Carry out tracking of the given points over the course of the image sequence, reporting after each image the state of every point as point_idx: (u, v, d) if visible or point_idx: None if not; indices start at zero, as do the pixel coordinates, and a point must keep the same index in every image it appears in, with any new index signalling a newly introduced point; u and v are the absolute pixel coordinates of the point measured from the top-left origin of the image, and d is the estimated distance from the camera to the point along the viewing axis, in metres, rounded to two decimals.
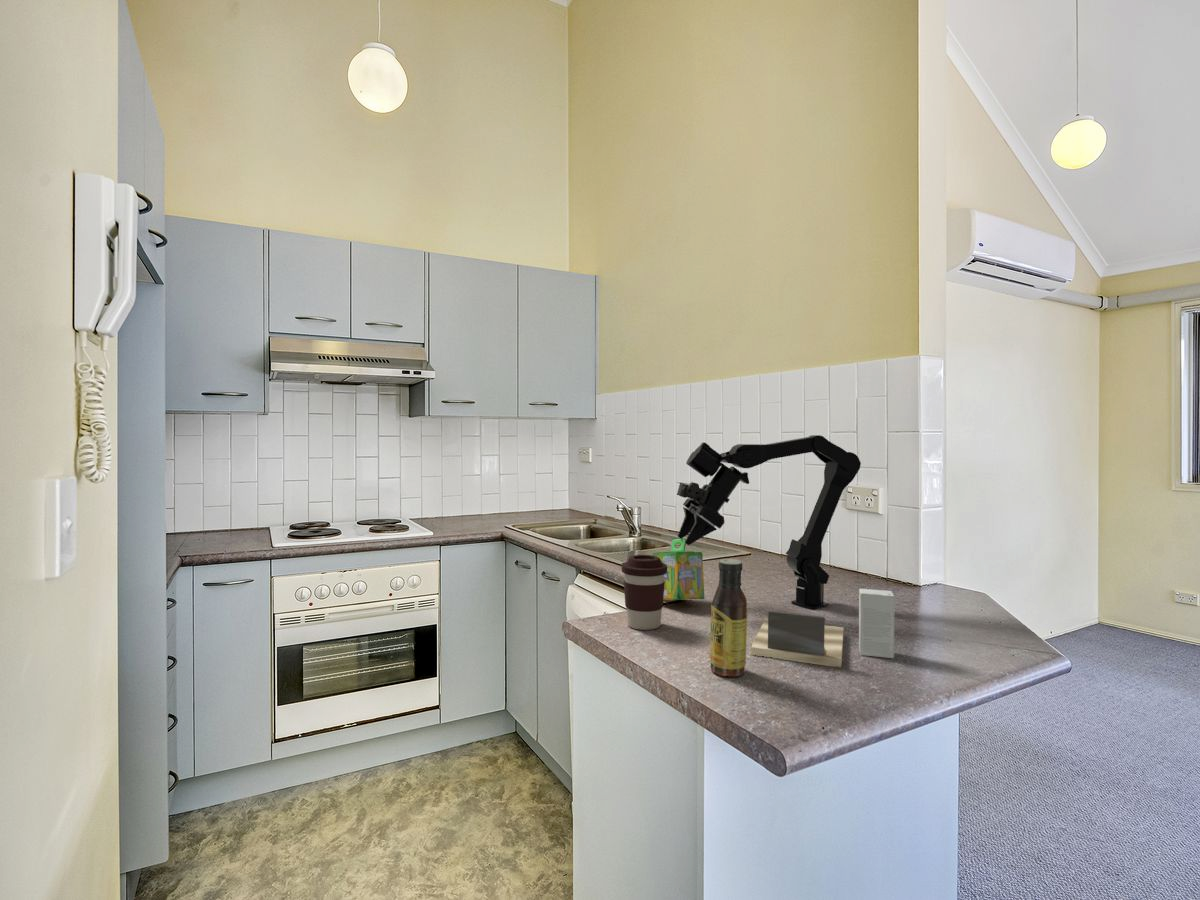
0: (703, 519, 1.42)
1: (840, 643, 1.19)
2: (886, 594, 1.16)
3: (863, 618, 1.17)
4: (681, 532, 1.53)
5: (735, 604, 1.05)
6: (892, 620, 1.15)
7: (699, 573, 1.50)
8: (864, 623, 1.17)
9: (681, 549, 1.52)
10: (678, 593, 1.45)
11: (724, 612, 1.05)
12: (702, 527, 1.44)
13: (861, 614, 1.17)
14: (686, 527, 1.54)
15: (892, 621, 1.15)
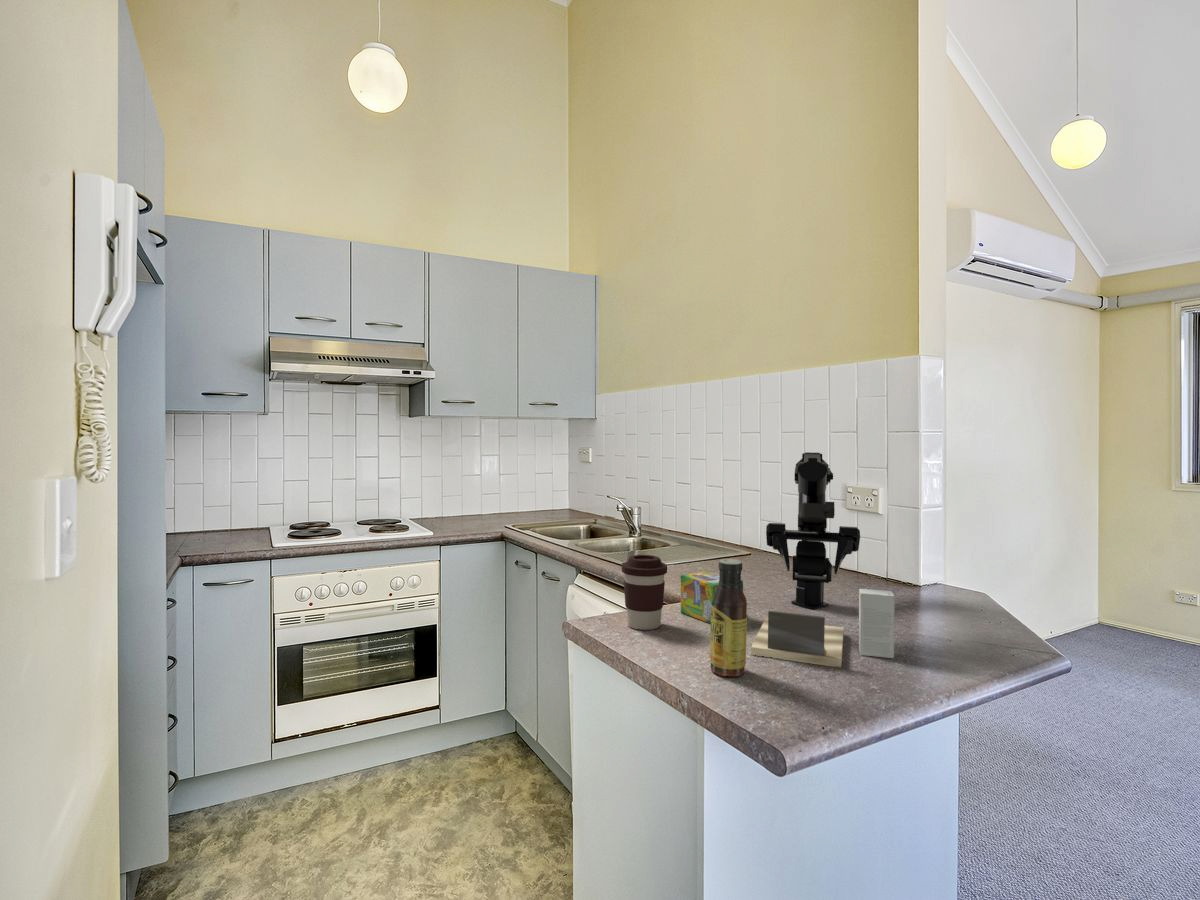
0: (852, 542, 1.27)
1: (840, 643, 1.19)
2: (886, 594, 1.16)
3: (863, 618, 1.17)
4: (789, 563, 1.28)
5: (735, 604, 1.05)
6: (892, 620, 1.15)
7: None
8: (864, 623, 1.17)
9: None
10: (684, 613, 1.43)
11: (724, 612, 1.05)
12: None
13: (861, 614, 1.17)
14: None
15: (892, 621, 1.15)
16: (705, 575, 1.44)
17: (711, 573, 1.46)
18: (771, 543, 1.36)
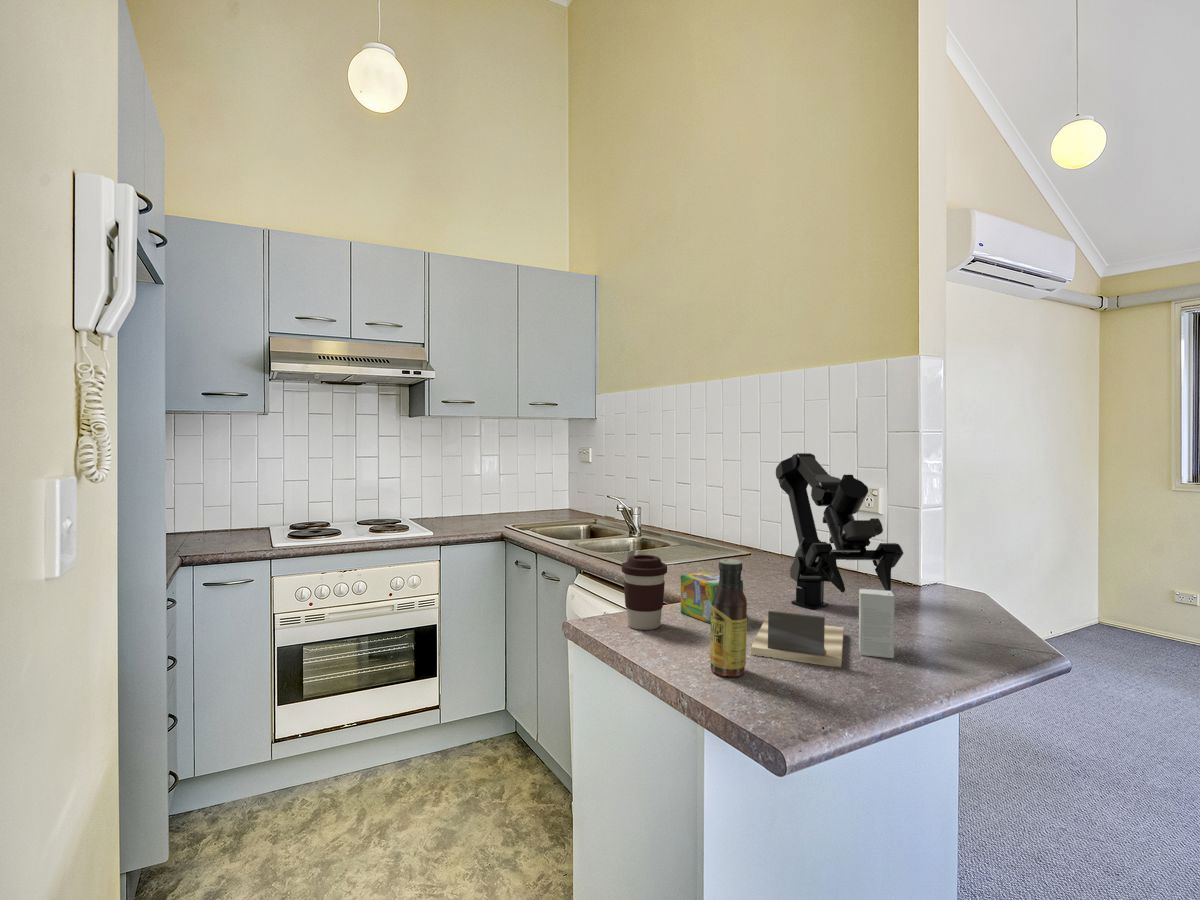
0: None
1: (840, 643, 1.19)
2: (886, 594, 1.16)
3: (863, 618, 1.17)
4: None
5: (735, 604, 1.05)
6: (892, 620, 1.15)
7: None
8: (864, 623, 1.17)
9: None
10: (684, 613, 1.43)
11: (724, 612, 1.05)
12: None
13: (861, 614, 1.17)
14: None
15: (892, 621, 1.15)
16: (705, 575, 1.44)
17: (711, 573, 1.46)
18: (811, 565, 1.29)
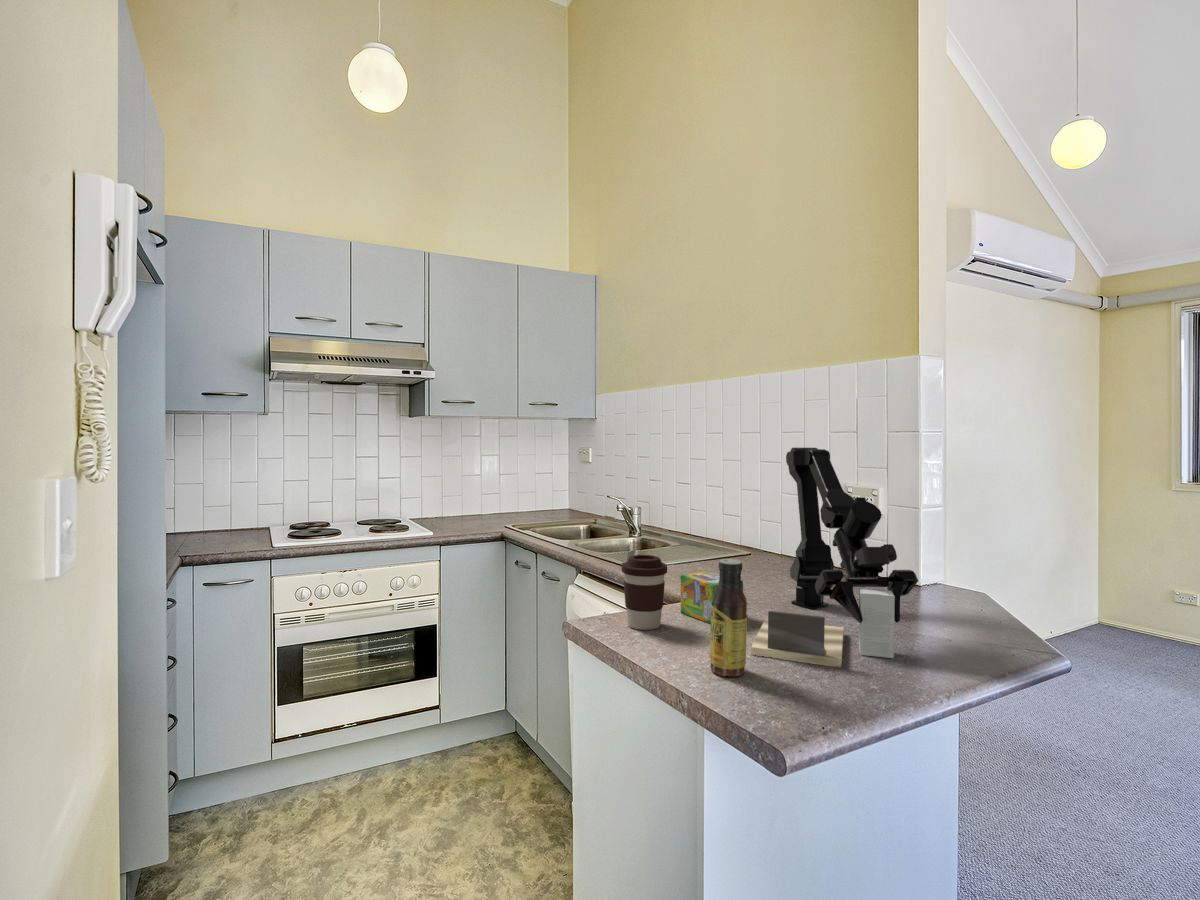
0: None
1: (840, 643, 1.19)
2: (886, 594, 1.16)
3: (863, 618, 1.17)
4: None
5: (735, 604, 1.05)
6: (892, 620, 1.15)
7: None
8: (864, 623, 1.17)
9: None
10: (684, 613, 1.43)
11: (724, 612, 1.05)
12: None
13: (861, 614, 1.17)
14: None
15: (892, 621, 1.15)
16: (705, 575, 1.44)
17: (711, 573, 1.46)
18: (821, 592, 1.24)
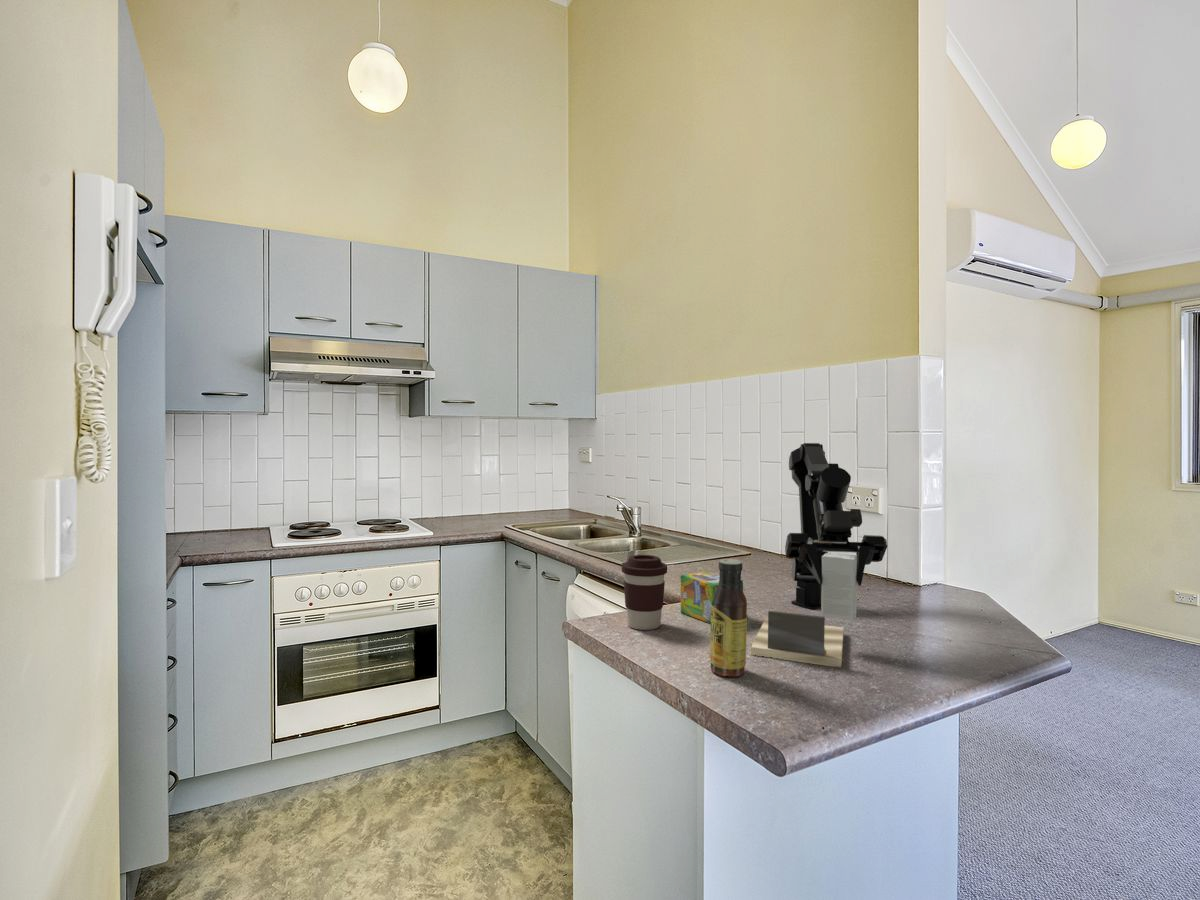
0: None
1: (840, 643, 1.19)
2: (847, 557, 1.18)
3: (824, 580, 1.19)
4: None
5: (735, 604, 1.05)
6: (852, 583, 1.17)
7: None
8: (825, 585, 1.19)
9: None
10: (684, 613, 1.43)
11: (724, 612, 1.05)
12: None
13: (822, 576, 1.19)
14: None
15: (852, 584, 1.17)
16: (705, 575, 1.44)
17: (711, 573, 1.46)
18: (790, 555, 1.27)
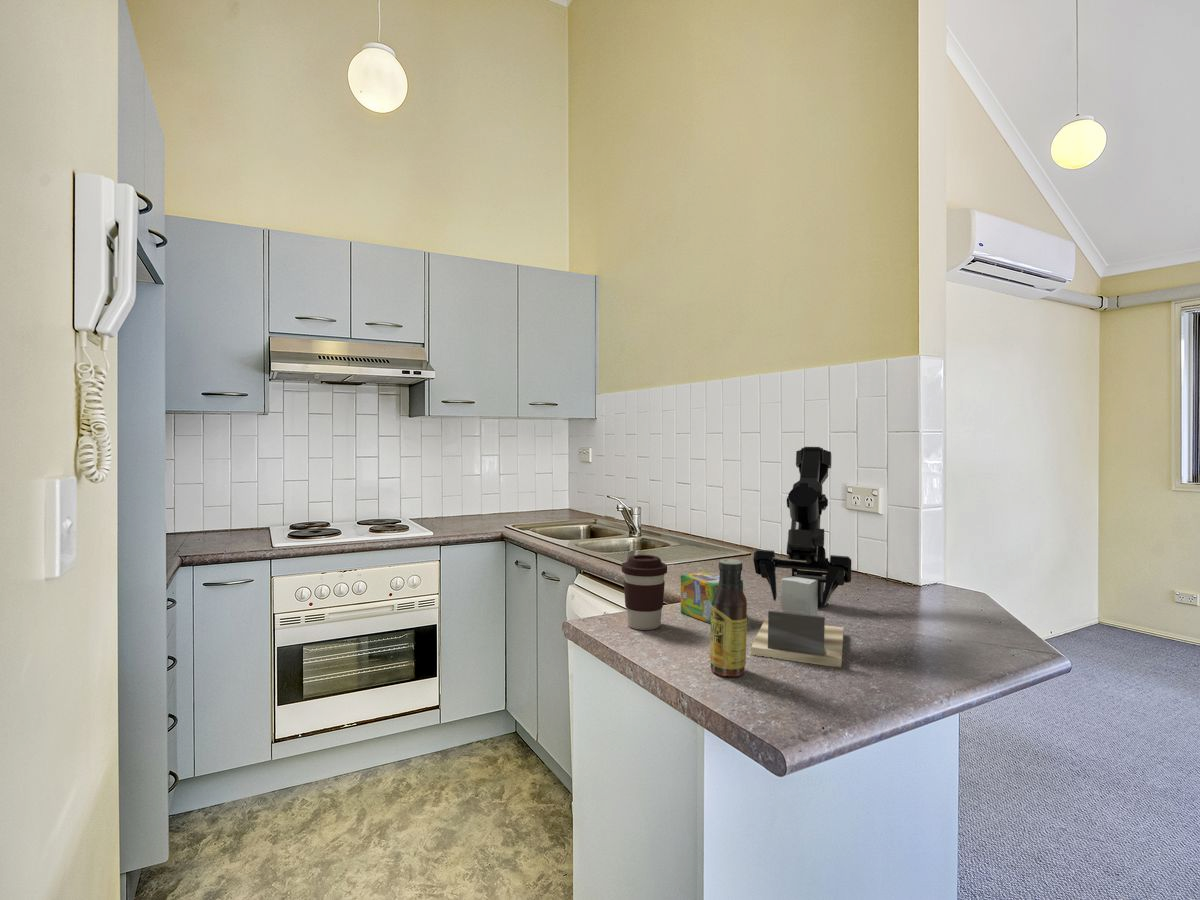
0: (843, 572, 1.20)
1: (840, 643, 1.19)
2: (804, 582, 1.19)
3: (783, 603, 1.21)
4: (776, 592, 1.22)
5: (735, 604, 1.05)
6: (808, 607, 1.18)
7: None
8: (783, 608, 1.21)
9: None
10: (684, 613, 1.43)
11: (724, 612, 1.05)
12: None
13: (781, 599, 1.22)
14: None
15: (808, 608, 1.18)
16: (705, 575, 1.44)
17: (711, 573, 1.46)
18: (760, 571, 1.30)
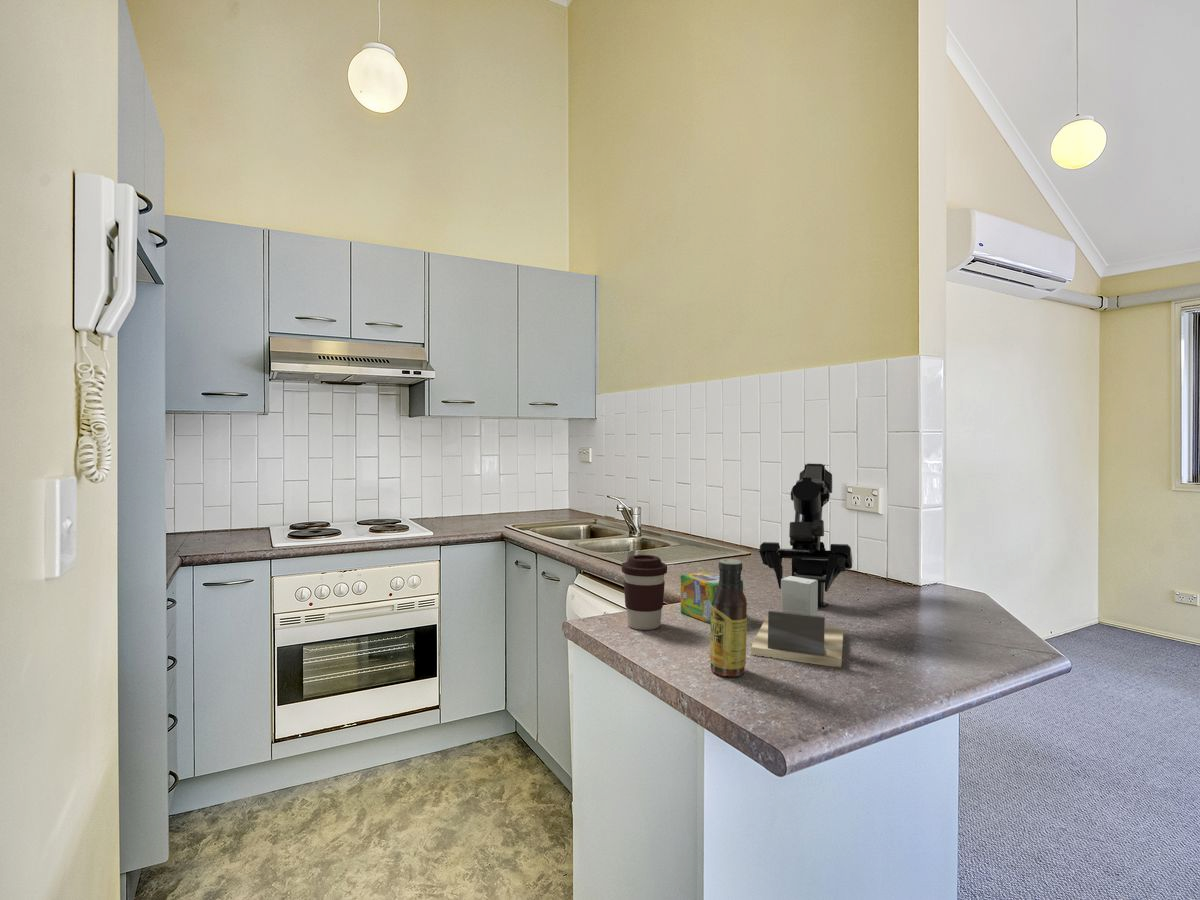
0: (843, 559, 1.29)
1: (840, 643, 1.19)
2: (804, 582, 1.19)
3: (783, 603, 1.21)
4: None
5: (735, 604, 1.05)
6: (808, 607, 1.18)
7: None
8: (783, 608, 1.21)
9: None
10: (684, 613, 1.43)
11: (724, 612, 1.05)
12: None
13: (781, 599, 1.22)
14: (781, 575, 1.33)
15: (808, 608, 1.18)
16: (705, 575, 1.44)
17: (711, 573, 1.46)
18: None
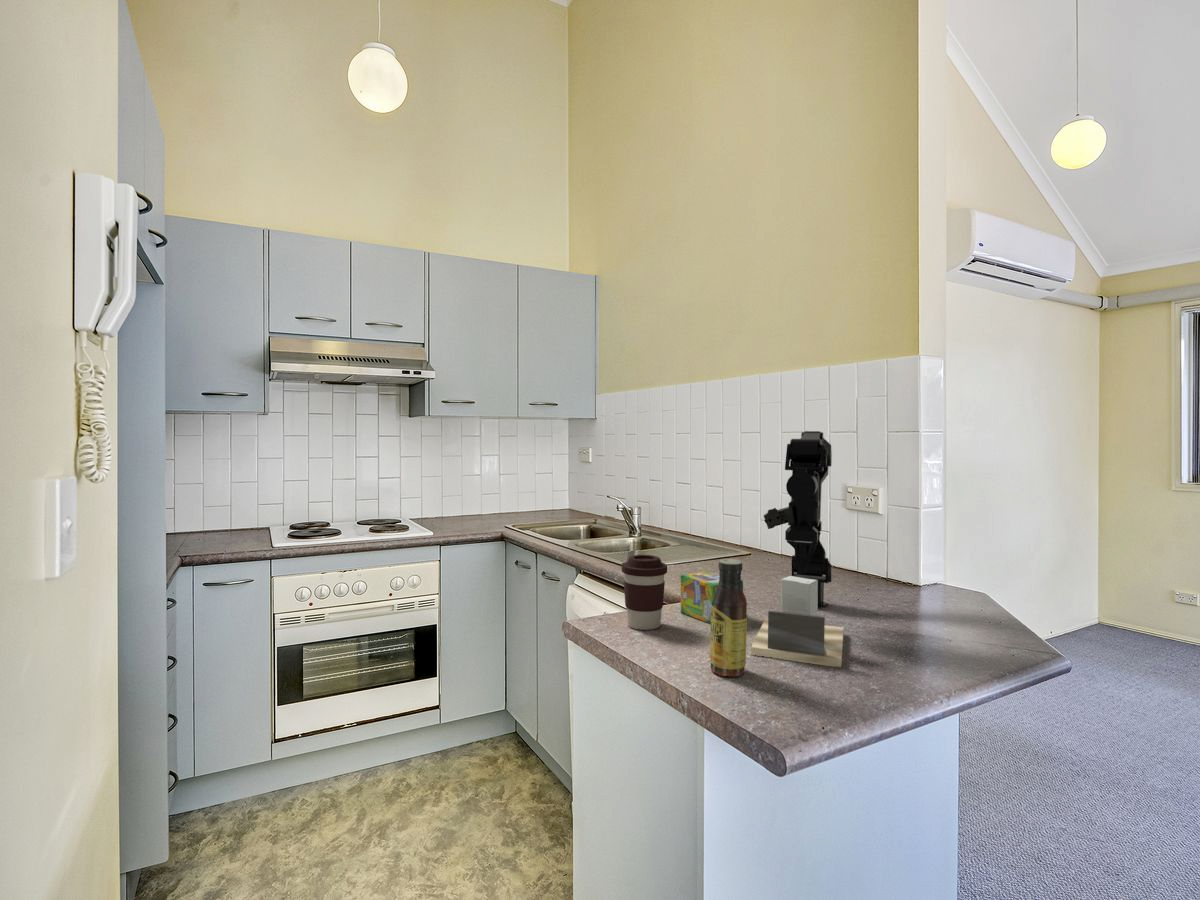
0: (795, 541, 1.27)
1: (840, 643, 1.19)
2: (804, 582, 1.19)
3: (783, 603, 1.21)
4: None
5: (735, 604, 1.05)
6: (808, 607, 1.18)
7: None
8: (783, 608, 1.21)
9: None
10: (684, 613, 1.43)
11: (724, 612, 1.05)
12: (804, 548, 1.28)
13: (781, 599, 1.22)
14: None
15: (808, 608, 1.18)
16: (705, 575, 1.44)
17: (711, 573, 1.46)
18: None
